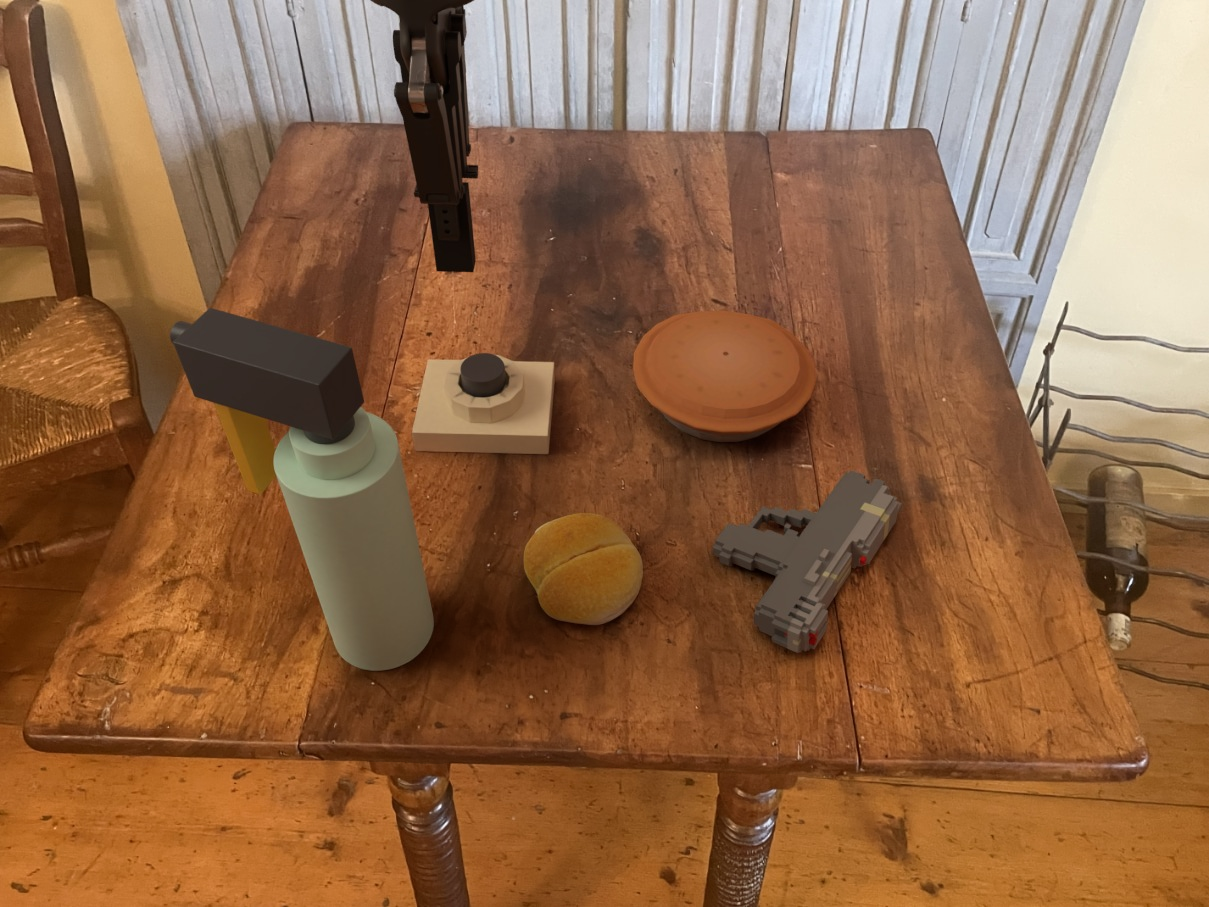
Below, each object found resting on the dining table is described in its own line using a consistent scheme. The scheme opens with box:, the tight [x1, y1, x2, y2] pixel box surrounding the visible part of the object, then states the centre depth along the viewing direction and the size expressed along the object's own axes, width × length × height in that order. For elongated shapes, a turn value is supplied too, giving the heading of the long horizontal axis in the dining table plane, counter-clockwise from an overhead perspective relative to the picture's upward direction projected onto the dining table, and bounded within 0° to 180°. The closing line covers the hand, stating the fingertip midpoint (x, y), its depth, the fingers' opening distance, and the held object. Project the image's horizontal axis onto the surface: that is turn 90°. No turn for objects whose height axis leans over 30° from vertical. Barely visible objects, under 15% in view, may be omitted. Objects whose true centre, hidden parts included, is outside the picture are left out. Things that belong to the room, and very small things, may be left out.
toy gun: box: [712, 469, 903, 654], centre depth 73 cm, size 4×16×10 cm
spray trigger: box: [213, 403, 277, 496], centre depth 59 cm, size 1×2×8 cm, turn 159°
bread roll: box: [523, 512, 644, 626], centre depth 71 cm, size 8×9×4 cm
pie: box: [632, 309, 817, 443], centre depth 84 cm, size 15×16×5 cm
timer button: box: [460, 352, 506, 398], centre depth 81 cm, size 4×4×2 cm
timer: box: [411, 354, 556, 455], centre depth 83 cm, size 11×9×4 cm
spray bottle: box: [169, 307, 435, 672], centre depth 61 cm, size 12×7×25 cm, turn 69°
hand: (456, 265), depth 73 cm, fingers closed
